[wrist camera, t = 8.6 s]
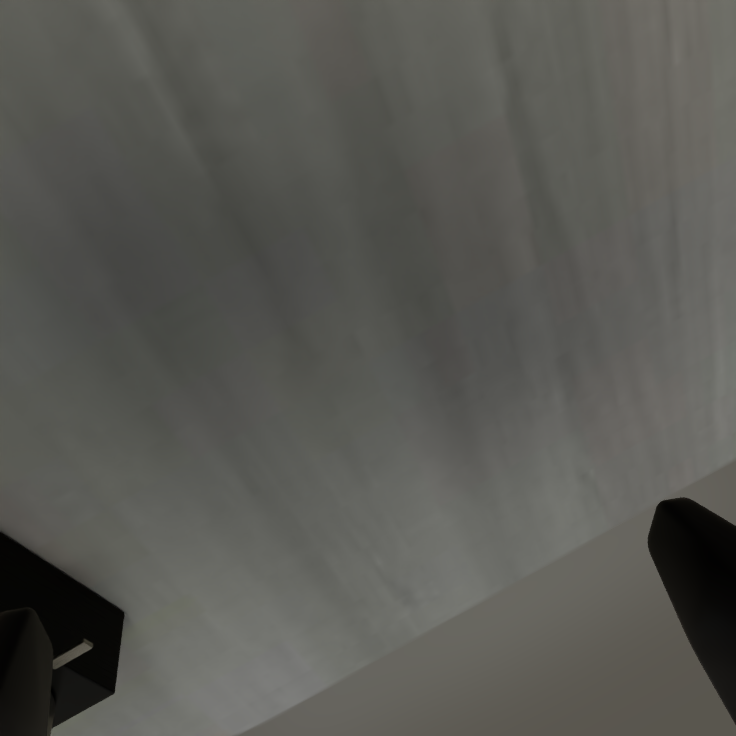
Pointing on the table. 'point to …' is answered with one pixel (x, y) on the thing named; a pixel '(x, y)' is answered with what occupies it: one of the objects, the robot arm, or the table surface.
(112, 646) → the dial panel
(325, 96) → the table surface
